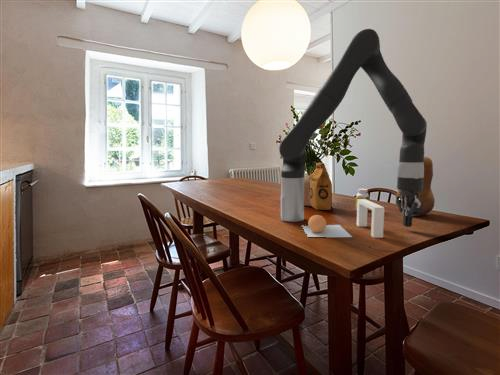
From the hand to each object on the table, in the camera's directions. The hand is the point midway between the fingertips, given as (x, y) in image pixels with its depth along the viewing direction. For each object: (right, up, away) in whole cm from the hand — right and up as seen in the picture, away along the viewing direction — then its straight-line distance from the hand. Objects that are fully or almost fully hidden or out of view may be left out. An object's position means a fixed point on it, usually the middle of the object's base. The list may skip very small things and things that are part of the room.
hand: (407, 226), depth 94 cm
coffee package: (-20, +3, +40) cm, 44 cm away
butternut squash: (+16, +1, +23) cm, 28 cm away
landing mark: (-28, -2, +1) cm, 28 cm away
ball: (-31, +1, 0) cm, 31 cm away
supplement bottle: (-2, +3, +33) cm, 33 cm away
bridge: (-13, -2, +1) cm, 13 cm away
